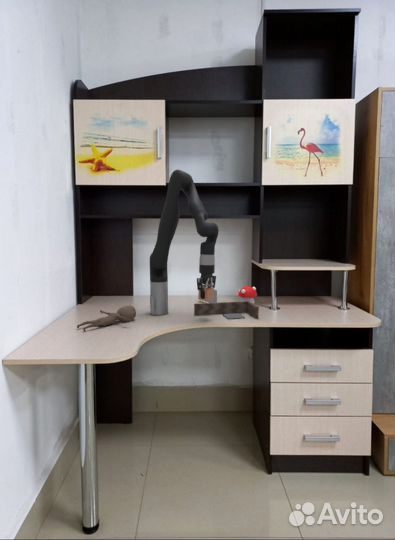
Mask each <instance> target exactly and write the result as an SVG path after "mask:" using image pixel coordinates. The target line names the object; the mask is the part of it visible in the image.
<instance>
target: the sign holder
mask: <svg viewBox="0 0 395 540" xmlns="http://www.w3.org/2000/svg"><path fill="white" fill-rule="evenodd" d="M197 302H198V303H218V291H217V289H214V299H213V300H209V301H205V300H197Z"/></svg>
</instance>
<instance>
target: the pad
mask: <svg viewBox="0 0 395 540" xmlns="http://www.w3.org/2000/svg"><path fill="white" fill-rule="evenodd" d="M222 316H223V317H224V318H225V319H227V320H241V318H243V319H246V317H245V316H244V315H242V313H234V314H222Z"/></svg>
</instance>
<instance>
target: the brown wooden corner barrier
mask: <svg viewBox="0 0 395 540" xmlns="http://www.w3.org/2000/svg"><path fill="white" fill-rule="evenodd" d="M193 306H194V308H193V311H194V313H193V315H194V317H196V316H197V317H199V316H212V315H213V316H215V315H223V314H234V313H240V314H247V315H249V316H250V317H252V318H254V319H255V320H258V319H259V312H260V311H259V306H258V305H256V304H255V303H254V304H253V303H251V302H250V301H241V300H240V301H224V302H221V301H220V302H219V301H218V302H217V303H208V302H206V303H200V302H198V303H194V304H193Z"/></svg>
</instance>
